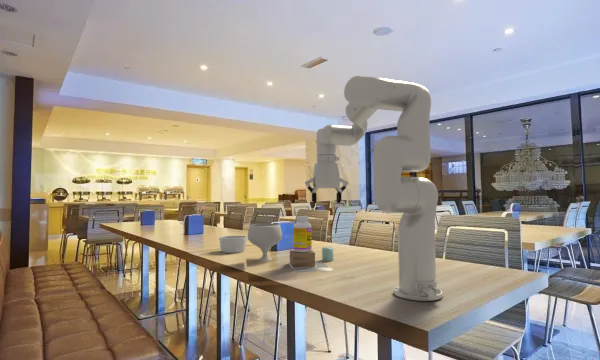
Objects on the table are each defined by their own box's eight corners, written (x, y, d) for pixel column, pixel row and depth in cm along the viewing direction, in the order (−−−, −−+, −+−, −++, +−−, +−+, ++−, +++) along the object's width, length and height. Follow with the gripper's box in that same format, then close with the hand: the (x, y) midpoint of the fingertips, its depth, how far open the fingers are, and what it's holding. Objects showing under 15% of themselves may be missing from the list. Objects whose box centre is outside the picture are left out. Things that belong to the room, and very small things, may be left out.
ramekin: (238, 248, 178) (238, 234, 178) (252, 251, 168) (252, 236, 168) (214, 251, 169) (214, 236, 170) (227, 254, 159) (227, 239, 159)
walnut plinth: (315, 266, 125) (314, 252, 125) (293, 267, 124) (292, 253, 124) (310, 262, 133) (310, 249, 133) (289, 263, 132) (289, 250, 132)
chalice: (281, 265, 134) (281, 226, 135) (245, 265, 134) (244, 226, 135) (283, 258, 148) (282, 223, 149) (250, 258, 148) (250, 223, 149)
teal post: (334, 264, 136) (334, 248, 136) (323, 264, 135) (323, 249, 135) (331, 262, 140) (331, 246, 140) (321, 262, 139) (320, 247, 139)
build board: (335, 274, 118) (335, 271, 118) (295, 276, 116) (295, 273, 116) (323, 264, 135) (323, 261, 135) (288, 266, 133) (288, 262, 133)
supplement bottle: (308, 253, 124) (308, 217, 125) (291, 252, 126) (290, 216, 127) (313, 250, 131) (313, 215, 131) (297, 249, 133) (296, 215, 133)
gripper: (344, 160, 144) (344, 202, 144) (303, 160, 141) (303, 203, 141) (350, 159, 137) (350, 203, 136) (306, 158, 134) (307, 203, 133)
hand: (326, 203), depth 139 cm, fingers open, 9 cm apart
